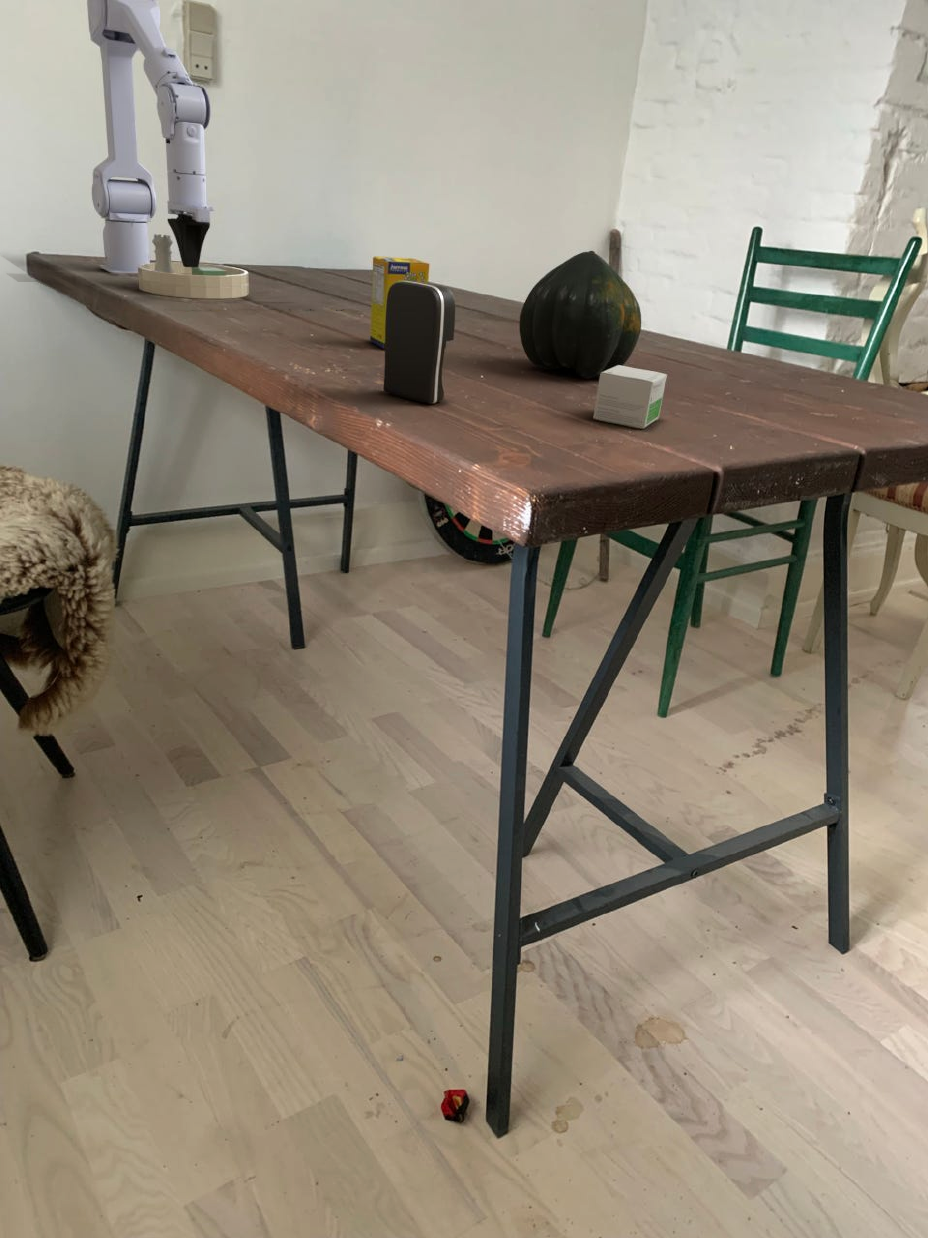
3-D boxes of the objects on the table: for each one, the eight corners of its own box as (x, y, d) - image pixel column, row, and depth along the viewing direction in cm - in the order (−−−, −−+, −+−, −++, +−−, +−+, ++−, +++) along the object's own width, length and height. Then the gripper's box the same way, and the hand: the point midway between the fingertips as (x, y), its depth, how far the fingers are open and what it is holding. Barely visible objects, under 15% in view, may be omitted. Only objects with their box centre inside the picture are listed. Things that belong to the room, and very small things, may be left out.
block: (192, 293, 146) (191, 267, 144) (215, 293, 148) (214, 267, 146) (203, 297, 143) (202, 270, 141) (227, 296, 145) (226, 270, 144)
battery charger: (454, 401, 95) (463, 286, 90) (430, 406, 92) (438, 287, 87) (404, 388, 99) (410, 277, 94) (380, 392, 96) (385, 278, 91)
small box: (645, 430, 91) (653, 380, 89) (591, 419, 93) (598, 371, 91) (660, 419, 95) (669, 372, 93) (608, 410, 97) (616, 363, 95)
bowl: (126, 286, 151) (124, 260, 149) (226, 287, 160) (225, 263, 158) (158, 302, 138) (156, 274, 136) (264, 302, 147) (264, 276, 146)
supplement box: (425, 350, 120) (430, 262, 116) (382, 349, 118) (385, 260, 113) (411, 342, 125) (415, 257, 121) (369, 341, 123) (372, 255, 118)
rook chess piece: (149, 285, 150) (145, 233, 146) (176, 286, 152) (174, 234, 148) (152, 289, 146) (149, 235, 143) (181, 290, 148) (178, 237, 144)
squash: (565, 341, 103) (636, 236, 104) (479, 323, 113) (545, 228, 114) (617, 416, 113) (681, 319, 114) (534, 394, 123) (594, 306, 124)
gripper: (228, 178, 137) (230, 273, 143) (196, 172, 148) (199, 261, 154) (182, 174, 134) (186, 272, 140) (152, 169, 144) (158, 260, 150)
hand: (190, 266), depth 146 cm, fingers closed
